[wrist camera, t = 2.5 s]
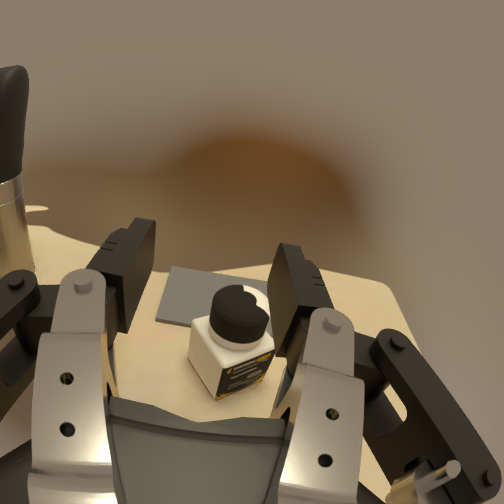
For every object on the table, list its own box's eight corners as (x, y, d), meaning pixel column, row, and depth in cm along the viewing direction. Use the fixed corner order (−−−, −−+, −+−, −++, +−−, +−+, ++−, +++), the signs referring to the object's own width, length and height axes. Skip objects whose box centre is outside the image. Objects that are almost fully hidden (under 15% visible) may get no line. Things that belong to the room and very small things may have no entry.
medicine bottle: (214, 401, 29) (232, 334, 23) (186, 357, 34) (195, 283, 28) (263, 380, 34) (294, 312, 28) (233, 341, 38) (253, 271, 32)
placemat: (155, 320, 38) (155, 317, 37) (171, 268, 49) (172, 265, 49) (293, 339, 41) (294, 337, 40) (282, 286, 52) (283, 283, 52)
